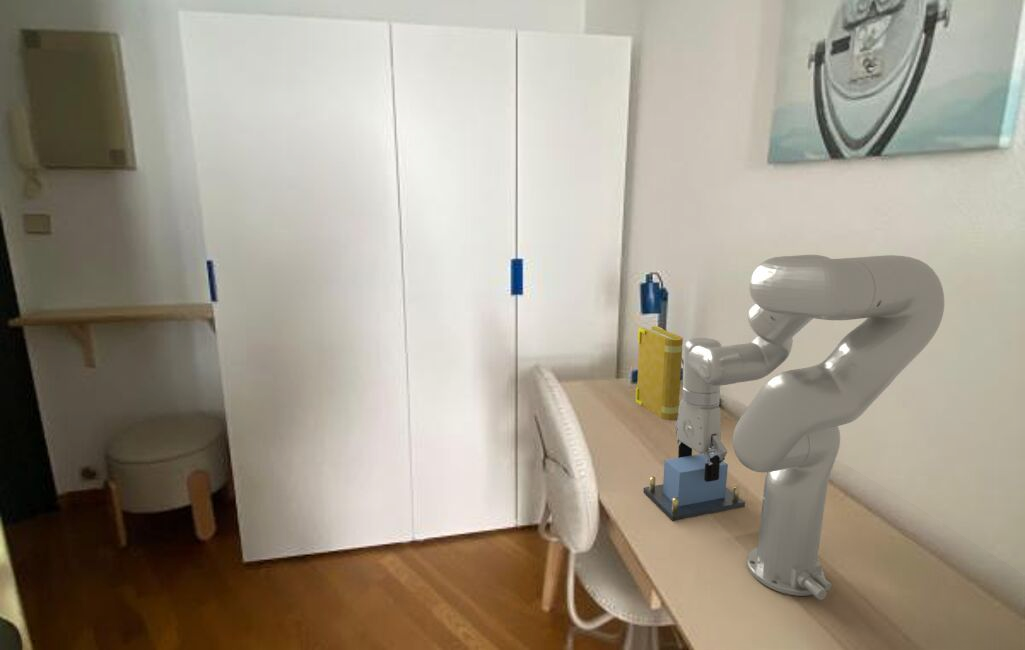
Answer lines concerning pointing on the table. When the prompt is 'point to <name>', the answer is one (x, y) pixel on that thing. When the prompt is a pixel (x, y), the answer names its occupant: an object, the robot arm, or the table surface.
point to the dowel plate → (693, 509)
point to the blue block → (692, 480)
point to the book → (659, 371)
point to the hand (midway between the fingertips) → (697, 470)
